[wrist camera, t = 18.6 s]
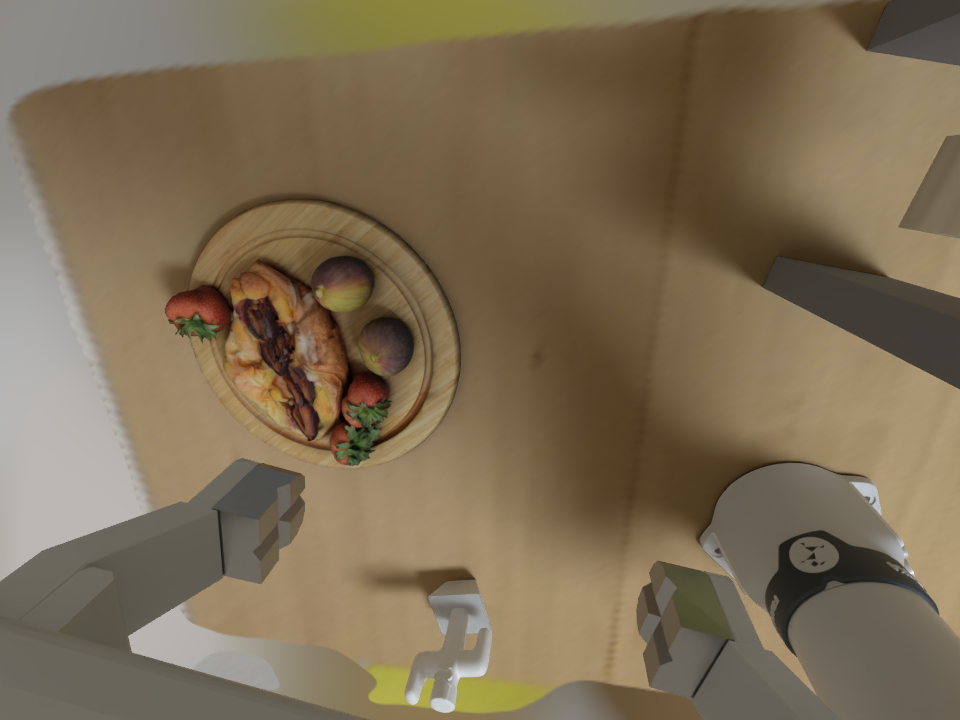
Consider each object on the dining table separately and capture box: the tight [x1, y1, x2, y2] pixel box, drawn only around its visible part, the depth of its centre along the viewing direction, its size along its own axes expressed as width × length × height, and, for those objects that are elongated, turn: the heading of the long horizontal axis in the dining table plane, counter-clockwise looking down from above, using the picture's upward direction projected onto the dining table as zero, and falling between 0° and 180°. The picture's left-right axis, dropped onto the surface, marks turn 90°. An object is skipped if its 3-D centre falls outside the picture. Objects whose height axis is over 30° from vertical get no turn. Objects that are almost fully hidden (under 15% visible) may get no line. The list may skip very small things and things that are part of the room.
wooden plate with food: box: [165, 199, 461, 468], centre depth 48 cm, size 32×32×8 cm
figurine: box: [405, 579, 493, 713], centre depth 56 cm, size 7×9×15 cm
